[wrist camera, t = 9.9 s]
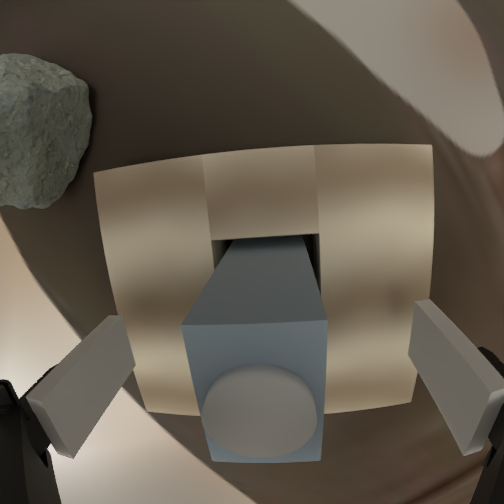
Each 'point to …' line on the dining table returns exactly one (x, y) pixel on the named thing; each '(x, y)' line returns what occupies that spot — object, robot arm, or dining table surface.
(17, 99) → the decorative stone
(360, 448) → the dining table surface
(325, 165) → the hub block
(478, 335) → the dining table surface
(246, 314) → the keyed peg
